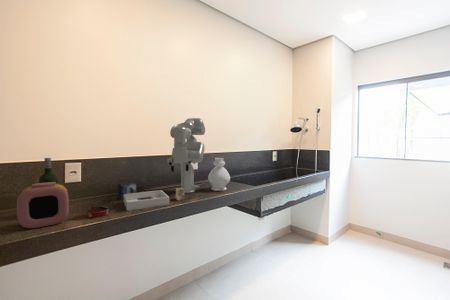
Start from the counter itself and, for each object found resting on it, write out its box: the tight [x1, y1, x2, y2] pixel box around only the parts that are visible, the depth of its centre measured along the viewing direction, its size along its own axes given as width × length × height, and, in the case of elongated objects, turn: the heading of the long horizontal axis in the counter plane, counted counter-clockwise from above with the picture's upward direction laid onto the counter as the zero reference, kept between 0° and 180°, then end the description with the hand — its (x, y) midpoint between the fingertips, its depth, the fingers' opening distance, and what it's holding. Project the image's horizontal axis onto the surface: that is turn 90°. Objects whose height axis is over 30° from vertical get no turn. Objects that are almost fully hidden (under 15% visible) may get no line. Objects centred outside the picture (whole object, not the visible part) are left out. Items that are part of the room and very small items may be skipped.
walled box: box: [123, 189, 170, 212], centre depth 140 cm, size 24×20×5 cm
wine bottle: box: [38, 157, 59, 184], centre depth 120 cm, size 8×8×30 cm
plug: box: [175, 187, 185, 201], centre depth 150 cm, size 4×4×7 cm
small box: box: [117, 181, 137, 201], centre depth 152 cm, size 11×6×10 cm, turn 129°
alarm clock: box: [16, 182, 70, 229], centre depth 106 cm, size 18×11×19 cm, turn 126°
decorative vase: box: [207, 157, 231, 192], centre depth 180 cm, size 18×18×25 cm
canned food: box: [86, 200, 109, 219], centre depth 119 cm, size 11×10×10 cm
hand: (179, 171), depth 149 cm, fingers open, 9 cm apart
